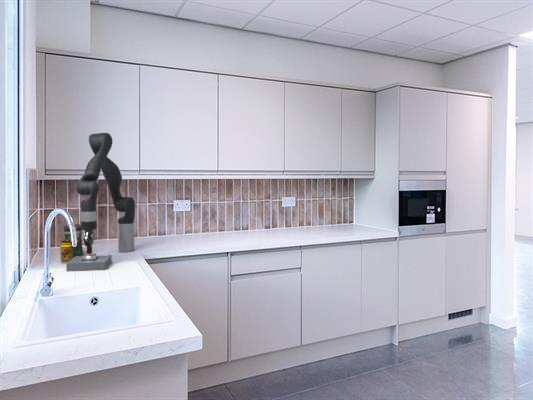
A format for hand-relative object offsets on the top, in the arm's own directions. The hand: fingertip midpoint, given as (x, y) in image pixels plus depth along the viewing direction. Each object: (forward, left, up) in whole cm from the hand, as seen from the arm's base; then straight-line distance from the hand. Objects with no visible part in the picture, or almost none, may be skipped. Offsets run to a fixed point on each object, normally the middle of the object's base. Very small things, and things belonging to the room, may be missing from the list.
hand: (89, 253), depth 204 cm
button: (0, 0, -4) cm, 4 cm away
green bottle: (-26, -15, -7) cm, 31 cm away
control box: (0, 0, -7) cm, 7 cm away
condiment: (-14, -15, -7) cm, 22 cm away
